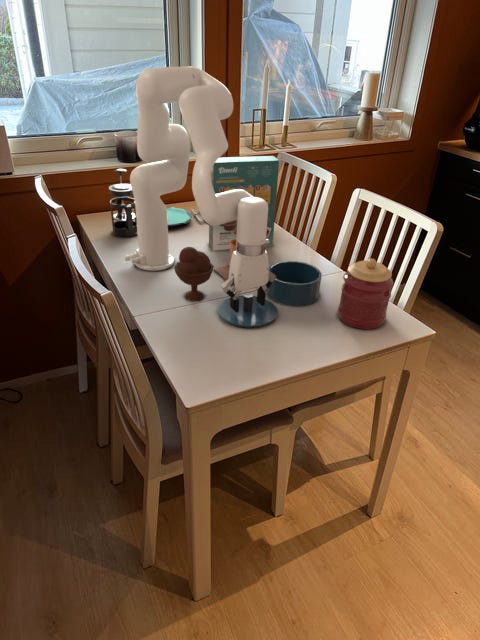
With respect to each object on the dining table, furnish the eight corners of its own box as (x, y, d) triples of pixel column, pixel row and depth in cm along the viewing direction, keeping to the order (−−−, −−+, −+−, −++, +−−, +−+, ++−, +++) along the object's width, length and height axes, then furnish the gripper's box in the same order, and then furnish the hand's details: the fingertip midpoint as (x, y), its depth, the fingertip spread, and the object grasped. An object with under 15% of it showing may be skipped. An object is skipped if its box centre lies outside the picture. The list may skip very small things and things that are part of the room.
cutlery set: (135, 214, 202) (135, 208, 200) (207, 208, 211) (207, 203, 210) (145, 232, 186) (144, 226, 185) (222, 225, 195) (222, 219, 194)
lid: (236, 334, 129) (236, 316, 126) (207, 306, 141) (207, 288, 138) (288, 320, 137) (290, 302, 134) (257, 294, 149) (258, 277, 146)
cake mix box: (267, 239, 185) (273, 155, 169) (272, 246, 180) (279, 160, 164) (208, 243, 179) (209, 157, 163) (212, 250, 174) (213, 162, 158)
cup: (235, 278, 155) (237, 248, 150) (225, 270, 160) (226, 240, 155) (254, 274, 158) (256, 245, 153) (243, 266, 163) (245, 237, 158)
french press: (108, 229, 187) (101, 167, 175) (132, 225, 191) (127, 164, 179) (118, 241, 178) (112, 176, 166) (144, 236, 182) (139, 172, 170)
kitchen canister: (393, 318, 139) (407, 260, 130) (368, 335, 131) (380, 275, 122) (354, 301, 147) (364, 245, 138) (327, 316, 139) (336, 257, 130)
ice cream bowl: (184, 308, 140) (183, 259, 132) (170, 291, 148) (168, 243, 140) (219, 301, 144) (220, 253, 136) (203, 284, 152) (203, 238, 144)
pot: (286, 311, 141) (288, 289, 137) (256, 287, 152) (258, 266, 149) (329, 299, 148) (332, 278, 144) (298, 277, 159) (300, 257, 155)
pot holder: (231, 285, 152) (232, 284, 152) (213, 270, 161) (213, 268, 161) (265, 278, 158) (265, 276, 157) (246, 263, 166) (246, 261, 166)
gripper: (271, 236, 135) (267, 294, 145) (213, 247, 128) (213, 307, 137) (287, 246, 130) (281, 306, 139) (228, 258, 122) (226, 320, 131)
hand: (247, 306), depth 138 cm, fingers open, 7 cm apart
